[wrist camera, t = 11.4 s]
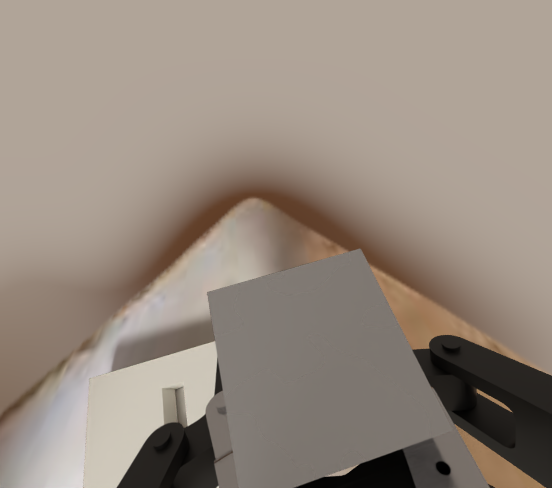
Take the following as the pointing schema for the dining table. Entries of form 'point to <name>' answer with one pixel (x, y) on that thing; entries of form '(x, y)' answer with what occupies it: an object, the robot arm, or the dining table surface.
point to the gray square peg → (317, 373)
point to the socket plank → (142, 408)
